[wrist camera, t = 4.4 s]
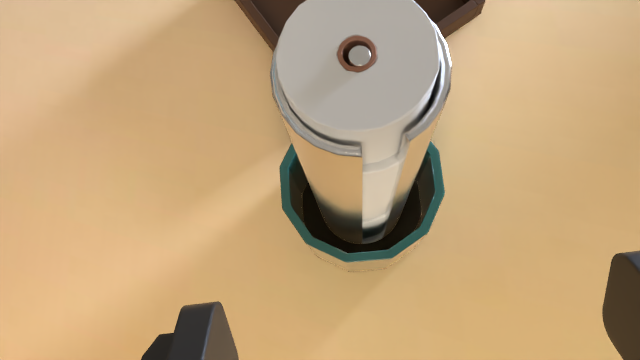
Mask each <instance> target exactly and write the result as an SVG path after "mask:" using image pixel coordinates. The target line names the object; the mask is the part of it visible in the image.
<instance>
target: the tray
mask: <svg viewBox="0 0 640 360" xmlns="http://www.w3.org/2000/svg"><path fill="white" fill-rule="evenodd" d="M235 1H236V3H237V4H238V5H239V7H240V8H241V9H242V11H243V12H244V13H245V15H246V16H247V17H248V19H249V20H250V21H251V23H252V24H253V25H254V27H255V28H256V29H257V31H258V32H259V33H260V35H261V36H262V37H263V39H264V40H265V41H266V43H267V44H268V45H269V47H270V48H271V49H272V51H273V52H274V50H275V48H276V46H277V44H278V40H279V37H280V35H281V33H282V30H283V28H284V26H285V23H286V21H287V20H288V19H289V17H290V16H291V15H292V14H293V12H294V11H295V10H296V8H297V7H298V6H299V5H300V4H302V3H303V2H305V1H306V0H235ZM414 1H415V2H416V3H417V4H418V5H419V6H420V7H421V8H422V9H423V10H424V11H425V12H426V14H427V15H428V17H429V18H430V19H431V20H432V21H433V22H434V23H435V24H436V26H437V27H438V29H439V31H440V33H441V35H442V36H443V38H445V37H447V36H448V35H450V34H451V33H453V32H454V31H456V30H457V29H459V28H460V27H462V26H463V25H465V24H466V23H468V22H469V21H470V20H472V19H473V18H475V17H476V16H478V15H479V14H481V10H482V8H483V6H484V3H485V0H414Z"/></svg>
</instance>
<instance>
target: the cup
mask: <svg viewBox="0 0 640 360" xmlns="http://www.w3.org/2000/svg"><path fill="white" fill-rule="evenodd" d="M415 181H416V182H417V183H418V189H419V197H420V204H421V212H422V215H421V217H420V219H419V221H418V224H417V226H416V228H415V231H414V232H412V233H411V234H409V235H408V236H406V237H405V238H404V239H402V240H401V241H399V242H398V243H397V244H395V245H394V246H392V247H391V248H390V249H388V250H379V251H368V252H356V253H347V252H344V251H342V250H340V249H338V248H336V247H334V246H332V245H329V244H327V243H325V242H323V241H321V240H319V239H317V238H314V237H312V235H311V234H310V232H309V231H308V229H307V228H306V226H305V225H304V215H303V201H302V193H303V191H304V189H305V187H306V185H307V183H308V180H307V177H306V175H305V173H304V170H303V168H302V165H301V163H300V161H299V158H298V156H297V153H296V151H295V149H294V146H293V144H292V143H291V145H290V147H289V149H288V151H287V153H286V155H285V157H284V159H283V161H282V163H281V165H280V182H281V199H282V208H283V211H284V212H285V214H286V215H287V217H288V218H289V219H290V221H291V222H292V224H293V225H294V227H295V228H296V230H297V231H298V233H299V234H300V236H301V237H302V238H303V240H304V241H305V243H306V244H307V245H308V247H309V248H310V249H311V250H312V251H313V252H314V254H315V255H316V256H317V257H319V258H321V259H323V260H325V261H327V262H329V263H331V264H334V265H336V266H338V267H340V268H342V269H344V270H346V271H348V272H356V271H368V270H379V269H387V268H388V267H389V266H391V265H392V264H394V263H395V262H396V261H398V260H399V259H401V258H402V257H403V256H405V255H406V254H408V253H409V252H410V251H412V250H413V249H415V248H416V246H417V245H418V244H419V243H420V242H421V240H422V239H423V238H424V237H425V236H426V234H427V233H428V232H429V229H430V227H431V225H432V222H433V220H434V218H435V215H436V213H437V211H438V208H439V206H440V204H441V201H442V199H443V197H444V194H445V190H444V183H443V176H442V169H441V162H440V155H439V151H438V149H437V148H436V147H435V146H434V145H433V143H432V142H431V141H430V143H429V145H428V148H427V150H426V153H425V155H424V158H423V160H422V163H421V165H420V168H419V170H418V173H417V175H416V178H415Z"/></svg>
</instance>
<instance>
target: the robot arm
mask: <svg viewBox="0 0 640 360" xmlns="http://www.w3.org/2000/svg"><path fill="white" fill-rule="evenodd" d="M602 314H603V322H604V326H605V329H606V332H607V334H608V336H609V338H610V340H611V342H612V343H613V345H614V346H615V348H616V349H617V351H618V352H619V354H620V355H621V357H622V358H623V360H640V251H634V252H626V253H618V254H616V255H615V256H614V257H613V259H612V262H611V267H610V272H609V277H608V282H607V288H606V293H605V298H604V304H603V312H602ZM141 360H239V359H238V353H237V349H236V346H235V343H234V340H233V337H232V334H231V331H230V328H229V325H228V322H227V318H226V315H225V312H224V309H223V306H222V304H221V303H220V302H210V303H202V304H194V305H186V306H183V307H182V308H181V310H180V313H179V317H178V320H177V324H176V327H175V330H174V333H168V334H160V335H159V336H158V337H157V338H156V339H155V341H154V342H153V343H152V345H151V346H150V347H149V348H148V350H147V351H146V352H145V353H144V355H143V356H142V359H141Z"/></svg>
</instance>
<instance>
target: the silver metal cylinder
mask: <svg viewBox="0 0 640 360" xmlns="http://www.w3.org/2000/svg"><path fill="white" fill-rule="evenodd" d="M451 74H452V64H451V60H450V56H449V51H448V47H447V44H446V42H445V40H444V38H443V36H442V35H441V33H440V31H439V29H438V27H437V26H436V24H435V23H434V22H433V21H432V20H431V19H430V18H429V17H428V15H427V14H426V12H425V11H424V10H423V9H422V8H421V7H420V6H419V5H418V4H417V3H416V2H415V1H414V0H306V1H305V2H303V3H302V4H300V5H299V6H298V7H297V8H296V10H295V11H294V12H293V14H292V15H291V16H290V17H289V19H288V20H287V21H286V23H285V26H284V28H283V30H282V33H281V35H280V37H279V40H278V44H277V46H276V48H275V50H274V52H273V58H272V65H271V71H270V79H271V87H272V95H273V98H274V101H275V103H276V105H277V108H278V110H279V113H280V115H281V117H282V120H283V122H284V125H285V127H286V129H287V132H288V134H289V137H290V139H291V141H292V144H293V146H294V149H295V151H296V153H297V156H298V158H299V161H300V163H301V165H302V168H303V170H304V173H305V175H306V177H307V180H308V182H309V185H310V187H311V189H312V192H313V194H314V197H315V199H316V201H317V204H318V206H319V209H320V211H321V213H322V216H323V218H324V220H325V223H326V225H327V226H328V227H329V229H330V230H331V231H332V232H333V233H334V234H335V235H337V236H338V237H339V238H341V239H342V240H345V241H348V242H350V243H356V244H367V243H373V242H375V241H378V240H380V239H382V238H384V237H385V236H386V235H387V234H389V233H390V232H391V231H392V230H393V228H394V227H395V225H396V224H397V222H398V220H399V217H400V215H401V213H402V210H403V208H404V205H405V203H406V200H407V198H408V195H409V193H410V190H411V188H412V185H413V183H414V180H415V178H416V175H417V173H418V170H419V168H420V165H421V163H422V160H423V158H424V155H425V153H426V150H427V148H428V145H429V143H430V140H431V138H432V135H433V133H434V130H435V128H436V126H437V123H438V121H439V118H440V116H441V113H442V111H443V108H444V105H445V103H446V100H447V97H448V94H449V92H450V89H451Z"/></svg>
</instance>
